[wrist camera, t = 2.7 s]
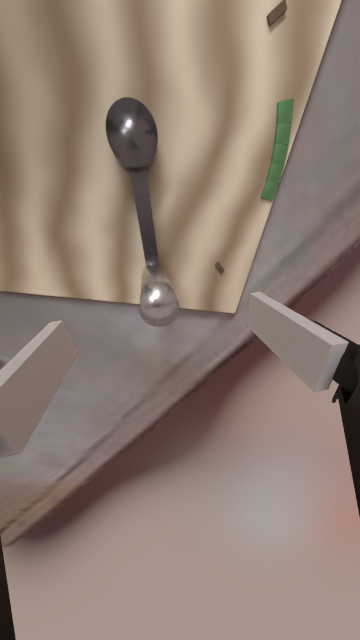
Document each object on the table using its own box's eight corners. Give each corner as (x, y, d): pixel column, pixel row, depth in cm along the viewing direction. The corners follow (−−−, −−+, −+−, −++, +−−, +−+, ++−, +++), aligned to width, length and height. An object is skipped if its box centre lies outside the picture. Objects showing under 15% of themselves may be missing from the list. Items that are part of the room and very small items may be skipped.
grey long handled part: (104, 114, 16) (45, -46, 7) (152, 112, 17) (161, -38, 7) (140, 289, 24) (136, 330, 15) (171, 285, 25) (187, 322, 15)
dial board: (-10, 285, 23) (-22, 289, 21) (-234, -453, 8) (-327, -619, 6) (231, 309, 30) (235, 314, 29) (346, -44, 16) (368, -74, 14)
